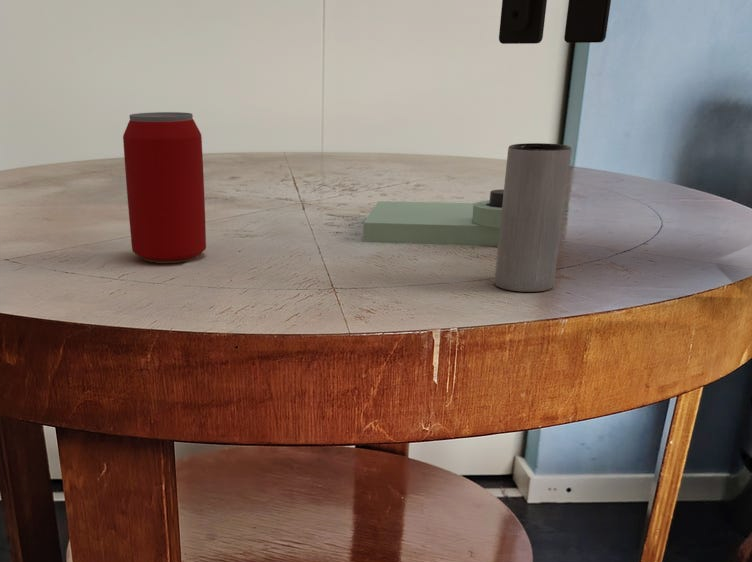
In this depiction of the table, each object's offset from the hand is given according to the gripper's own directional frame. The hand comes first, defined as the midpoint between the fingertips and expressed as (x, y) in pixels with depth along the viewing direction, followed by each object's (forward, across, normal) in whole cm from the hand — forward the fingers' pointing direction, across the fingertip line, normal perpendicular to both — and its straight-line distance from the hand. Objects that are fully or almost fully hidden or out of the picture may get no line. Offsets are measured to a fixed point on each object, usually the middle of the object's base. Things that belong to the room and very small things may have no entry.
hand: (553, 42), depth 67 cm
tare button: (+14, +10, +8) cm, 19 cm away
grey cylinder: (+17, -4, -2) cm, 18 cm away
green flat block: (+17, +11, +15) cm, 25 cm away
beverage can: (+17, -16, +27) cm, 36 cm away
